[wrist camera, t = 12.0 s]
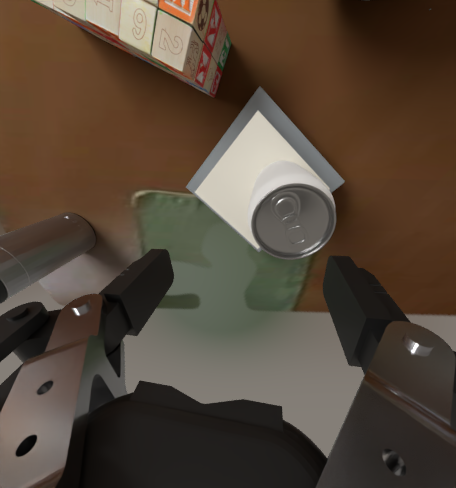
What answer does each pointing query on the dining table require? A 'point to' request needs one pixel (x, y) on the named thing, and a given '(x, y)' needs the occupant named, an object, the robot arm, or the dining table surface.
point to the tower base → (285, 133)
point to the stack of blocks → (158, 33)
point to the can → (290, 211)
